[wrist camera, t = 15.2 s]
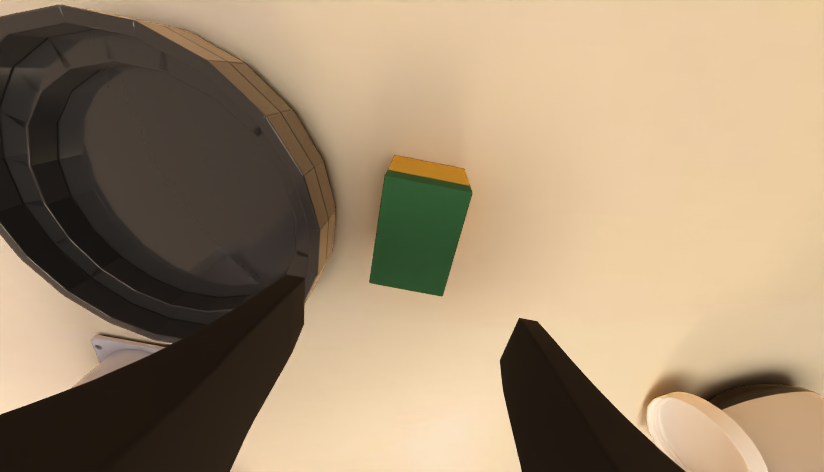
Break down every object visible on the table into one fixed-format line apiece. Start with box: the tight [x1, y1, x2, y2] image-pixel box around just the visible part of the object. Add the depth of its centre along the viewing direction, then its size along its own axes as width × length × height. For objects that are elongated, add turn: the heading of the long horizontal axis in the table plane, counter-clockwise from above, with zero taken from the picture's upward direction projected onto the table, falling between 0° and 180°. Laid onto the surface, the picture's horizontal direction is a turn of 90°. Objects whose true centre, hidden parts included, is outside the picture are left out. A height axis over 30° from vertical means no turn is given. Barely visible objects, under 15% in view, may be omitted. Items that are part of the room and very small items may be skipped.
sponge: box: [369, 155, 472, 296], centre depth 17 cm, size 6×4×4 cm, turn 170°
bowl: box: [0, 5, 336, 343], centre depth 18 cm, size 18×18×4 cm
